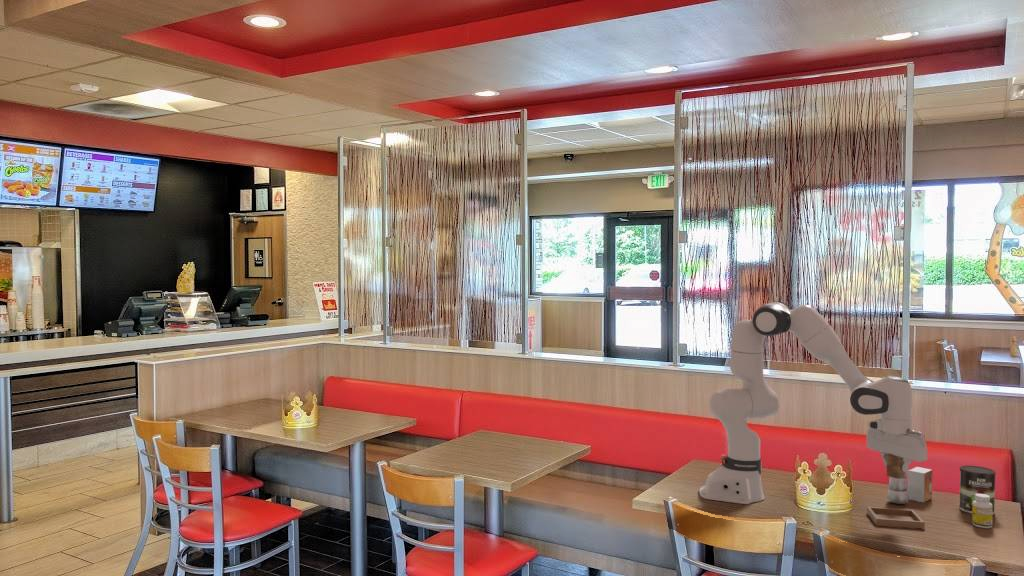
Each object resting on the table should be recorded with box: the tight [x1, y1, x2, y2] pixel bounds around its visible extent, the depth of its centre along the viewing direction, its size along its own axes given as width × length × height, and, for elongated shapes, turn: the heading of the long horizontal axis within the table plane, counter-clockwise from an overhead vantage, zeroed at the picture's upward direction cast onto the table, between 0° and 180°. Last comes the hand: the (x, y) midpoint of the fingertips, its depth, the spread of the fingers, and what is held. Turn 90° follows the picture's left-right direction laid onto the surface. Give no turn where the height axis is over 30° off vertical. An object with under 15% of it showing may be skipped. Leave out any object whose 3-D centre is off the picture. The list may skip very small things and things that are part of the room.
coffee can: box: [958, 465, 997, 516], centre depth 247 cm, size 10×10×14 cm
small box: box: [907, 466, 933, 503], centre depth 259 cm, size 8×6×10 cm
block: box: [886, 454, 905, 479], centre depth 236 cm, size 4×4×7 cm
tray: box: [866, 506, 926, 530], centre depth 236 cm, size 14×12×2 cm
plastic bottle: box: [886, 472, 909, 505], centre depth 254 cm, size 6×7×20 cm
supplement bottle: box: [971, 494, 993, 529], centre depth 232 cm, size 5×5×10 cm
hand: (895, 468), depth 236 cm, fingers closed on block, 5 cm apart
